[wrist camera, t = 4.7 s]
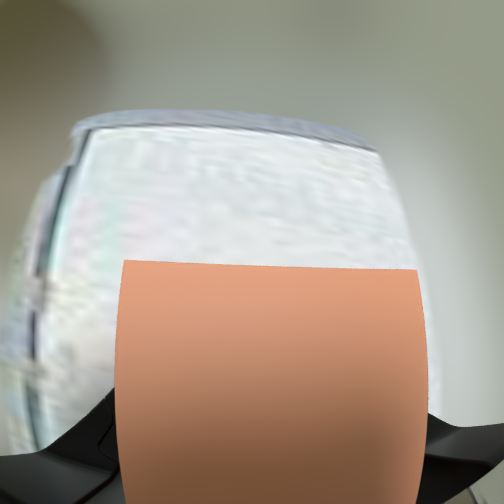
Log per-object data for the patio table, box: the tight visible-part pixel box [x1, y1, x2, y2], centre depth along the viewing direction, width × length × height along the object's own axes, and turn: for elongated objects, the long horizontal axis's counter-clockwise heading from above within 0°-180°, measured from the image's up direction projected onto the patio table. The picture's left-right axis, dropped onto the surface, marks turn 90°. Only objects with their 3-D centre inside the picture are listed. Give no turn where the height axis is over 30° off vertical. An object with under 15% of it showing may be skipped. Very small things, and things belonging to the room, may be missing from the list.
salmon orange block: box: [115, 260, 428, 504], centre depth 8 cm, size 4×4×12 cm
